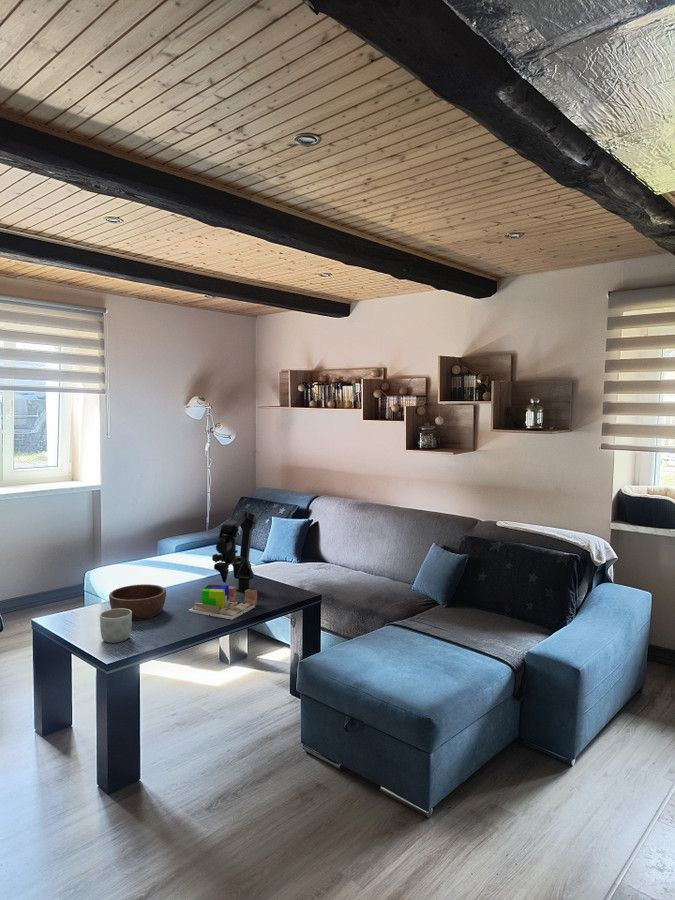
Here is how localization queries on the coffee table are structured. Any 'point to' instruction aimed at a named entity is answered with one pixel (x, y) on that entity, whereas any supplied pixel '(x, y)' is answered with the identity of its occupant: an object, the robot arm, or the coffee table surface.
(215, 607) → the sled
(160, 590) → the wooden bowl
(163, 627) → the coffee table surface
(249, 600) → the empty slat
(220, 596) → the puzzle toy
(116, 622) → the planter
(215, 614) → the frame
